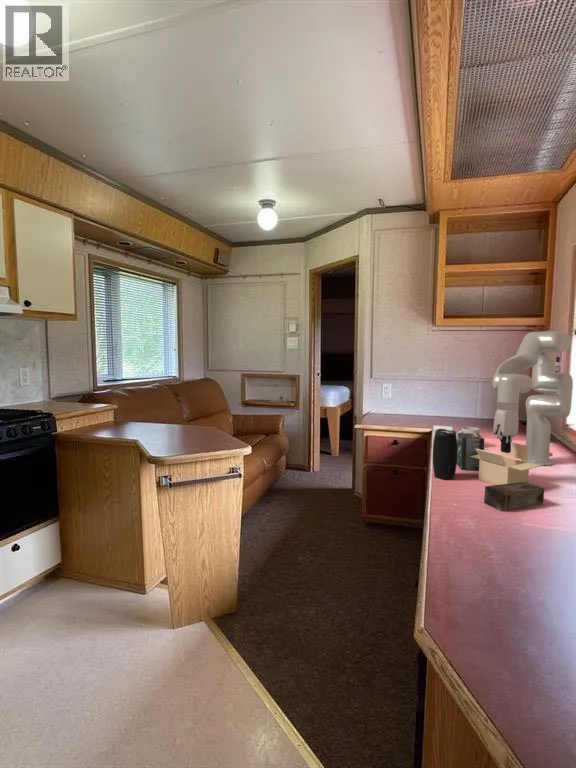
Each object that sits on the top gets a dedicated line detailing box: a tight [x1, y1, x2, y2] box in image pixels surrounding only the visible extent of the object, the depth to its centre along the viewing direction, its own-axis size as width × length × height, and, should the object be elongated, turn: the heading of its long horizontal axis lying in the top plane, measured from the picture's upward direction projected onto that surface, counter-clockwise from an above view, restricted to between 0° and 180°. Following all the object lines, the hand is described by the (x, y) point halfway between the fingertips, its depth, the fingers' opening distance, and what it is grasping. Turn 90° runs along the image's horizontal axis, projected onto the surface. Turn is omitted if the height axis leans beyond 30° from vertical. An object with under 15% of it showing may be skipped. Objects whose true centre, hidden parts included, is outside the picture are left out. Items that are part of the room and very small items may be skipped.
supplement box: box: [431, 425, 454, 460], centre depth 197 cm, size 9×9×15 cm
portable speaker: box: [432, 429, 458, 481], centre depth 167 cm, size 9×9×20 cm
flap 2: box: [501, 441, 528, 461], centre depth 165 cm, size 6×11×1 cm
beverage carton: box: [483, 481, 545, 512], centre depth 138 cm, size 8×19×7 cm, turn 109°
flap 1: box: [476, 449, 507, 466], centre depth 157 cm, size 6×11×1 cm
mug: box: [456, 426, 481, 438], centre depth 220 cm, size 11×10×10 cm
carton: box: [470, 455, 542, 485], centre depth 162 cm, size 14×22×8 cm, turn 30°
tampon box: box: [456, 432, 485, 472], centre depth 181 cm, size 11×9×15 cm
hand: (505, 452), depth 162 cm, fingers closed
